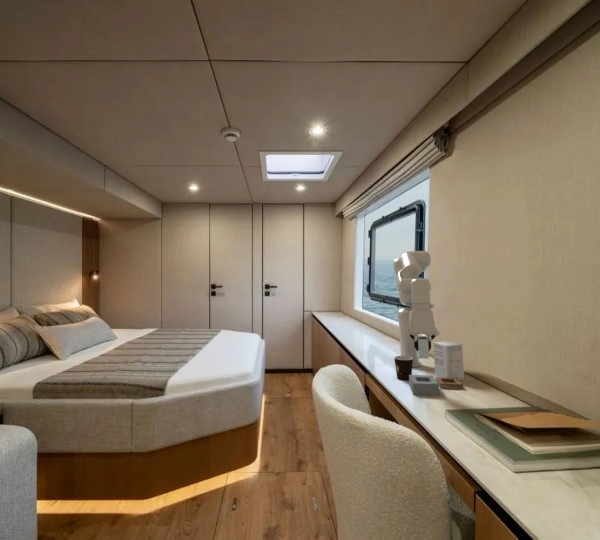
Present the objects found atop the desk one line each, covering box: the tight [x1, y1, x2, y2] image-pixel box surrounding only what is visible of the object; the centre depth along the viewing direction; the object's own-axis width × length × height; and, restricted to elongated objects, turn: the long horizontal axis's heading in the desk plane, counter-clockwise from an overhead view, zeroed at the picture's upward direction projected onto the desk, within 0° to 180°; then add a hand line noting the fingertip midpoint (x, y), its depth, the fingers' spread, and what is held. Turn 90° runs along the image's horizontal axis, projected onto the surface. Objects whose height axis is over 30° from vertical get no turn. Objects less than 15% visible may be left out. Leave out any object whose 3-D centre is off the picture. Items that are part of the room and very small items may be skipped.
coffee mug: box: [394, 355, 413, 381], centre depth 155 cm, size 12×9×10 cm
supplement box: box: [433, 340, 465, 381], centre depth 153 cm, size 10×9×17 cm
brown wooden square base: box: [435, 376, 464, 390], centre depth 141 cm, size 9×9×2 cm
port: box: [408, 374, 440, 397], centre depth 136 cm, size 12×10×5 cm
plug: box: [417, 335, 430, 360], centre depth 137 cm, size 4×4×9 cm
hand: (422, 349), depth 137 cm, fingers closed on plug, 4 cm apart
